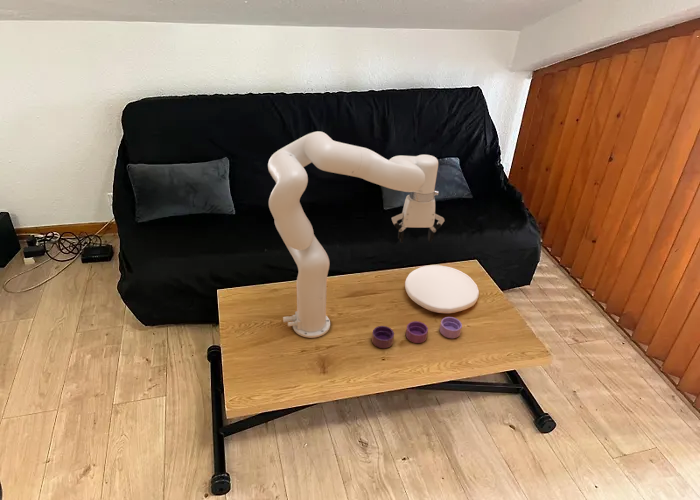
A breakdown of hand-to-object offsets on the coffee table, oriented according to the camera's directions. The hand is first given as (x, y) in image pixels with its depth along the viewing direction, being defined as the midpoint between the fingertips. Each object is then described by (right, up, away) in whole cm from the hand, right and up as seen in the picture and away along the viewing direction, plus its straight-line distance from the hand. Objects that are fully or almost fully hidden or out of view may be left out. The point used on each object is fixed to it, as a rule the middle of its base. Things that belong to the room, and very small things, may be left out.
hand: (415, 240), depth 164 cm
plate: (+12, -20, +19) cm, 30 cm away
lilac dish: (+12, -31, +2) cm, 33 cm away
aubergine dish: (-11, -33, -4) cm, 35 cm away
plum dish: (0, -32, -1) cm, 32 cm away
